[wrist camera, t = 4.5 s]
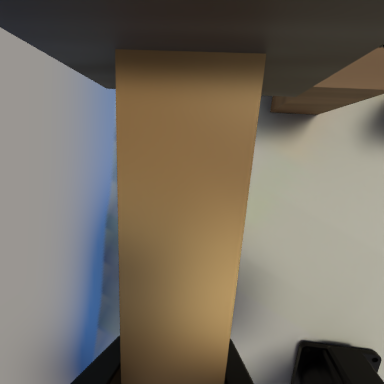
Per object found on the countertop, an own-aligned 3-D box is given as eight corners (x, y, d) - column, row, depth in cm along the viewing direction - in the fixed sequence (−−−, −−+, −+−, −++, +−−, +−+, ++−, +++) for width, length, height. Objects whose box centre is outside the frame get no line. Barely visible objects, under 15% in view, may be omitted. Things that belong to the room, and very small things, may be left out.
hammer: (235, 465, 11) (256, 737, 6) (116, 444, 11) (41, 677, 6) (302, 56, 6) (598, -241, 2) (105, 50, 7) (-151, -190, 2)
